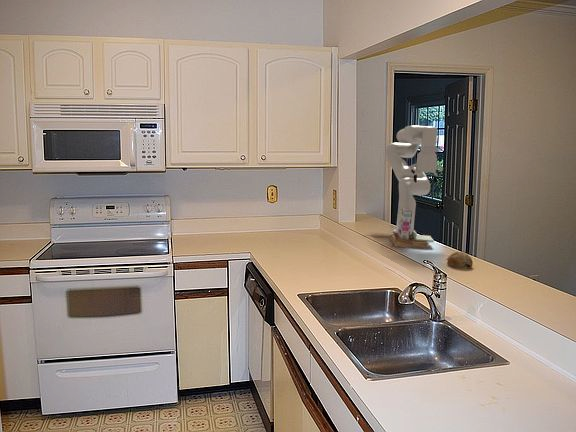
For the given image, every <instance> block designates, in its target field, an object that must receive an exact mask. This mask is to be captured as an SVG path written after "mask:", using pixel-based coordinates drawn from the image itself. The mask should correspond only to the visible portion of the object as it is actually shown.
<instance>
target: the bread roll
mask: <svg viewBox="0 0 576 432" xmlns="http://www.w3.org/2000/svg"><path fill="white" fill-rule="evenodd" d="M446 261H447V265H448V266H449V267H452V268H455V269H461V268H464V270H467V268H468V269H471V268H472V267H473V265H474V264H473V260H472V257H471V256H470V255H469V254H468V253H465V252H463V251H457V252H453V253H451V254H450V255H448V258H446ZM470 267H471V268H470ZM465 268H466V269H465Z"/></svg>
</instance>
